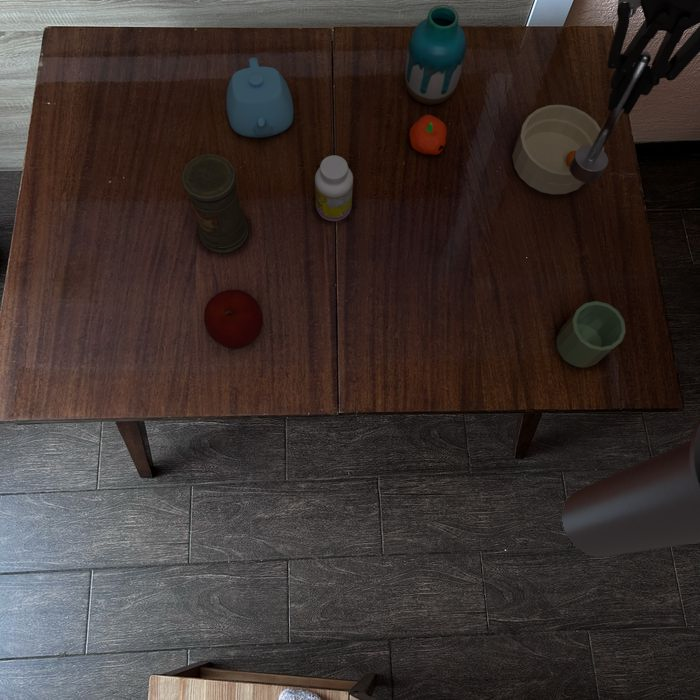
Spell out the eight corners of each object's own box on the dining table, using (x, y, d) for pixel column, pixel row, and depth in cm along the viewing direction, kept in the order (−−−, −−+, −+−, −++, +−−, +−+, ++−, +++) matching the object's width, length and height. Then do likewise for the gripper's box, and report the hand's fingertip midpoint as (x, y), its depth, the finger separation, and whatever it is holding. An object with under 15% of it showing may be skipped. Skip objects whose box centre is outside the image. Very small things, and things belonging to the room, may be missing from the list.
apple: (230, 297, 122) (222, 271, 112) (276, 323, 120) (272, 299, 111) (199, 340, 119) (188, 318, 109) (246, 367, 117) (239, 347, 108)
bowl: (585, 203, 130) (599, 182, 123) (506, 186, 131) (515, 164, 124) (595, 137, 135) (608, 114, 129) (518, 121, 136) (527, 97, 129)
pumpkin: (443, 126, 135) (449, 104, 129) (446, 161, 132) (452, 140, 126) (407, 126, 135) (410, 104, 129) (409, 161, 132) (413, 140, 126)
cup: (602, 372, 119) (623, 355, 110) (552, 361, 119) (569, 343, 111) (607, 328, 122) (628, 308, 113) (559, 317, 122) (576, 296, 114)
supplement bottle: (315, 192, 129) (313, 150, 117) (350, 190, 130) (352, 148, 117) (316, 223, 127) (315, 184, 115) (352, 222, 127) (355, 182, 115)
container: (226, 201, 128) (211, 141, 111) (259, 232, 126) (248, 176, 109) (189, 231, 126) (167, 174, 109) (221, 263, 124) (204, 210, 107)
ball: (582, 169, 131) (579, 159, 128) (566, 171, 132) (563, 160, 130) (584, 157, 132) (581, 146, 129) (568, 158, 133) (565, 148, 131)
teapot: (226, 128, 121) (216, 47, 127) (234, 164, 131) (224, 87, 137) (298, 120, 122) (285, 39, 128) (300, 156, 132) (288, 80, 138)
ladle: (592, 188, 110) (656, 74, 89) (563, 172, 111) (620, 55, 90) (607, 167, 112) (673, 51, 91) (578, 152, 113) (637, 33, 92)
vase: (398, 72, 139) (408, -6, 121) (450, 69, 140) (468, -10, 122) (405, 116, 136) (417, 42, 118) (459, 112, 136) (478, 38, 118)
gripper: (769, -52, 78) (672, 94, 100) (638, -77, 79) (571, 73, 101) (767, -3, 75) (668, 136, 97) (632, -29, 76) (565, 114, 98)
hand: (619, 104), depth 99 cm, fingers closed on ladle, 2 cm apart
